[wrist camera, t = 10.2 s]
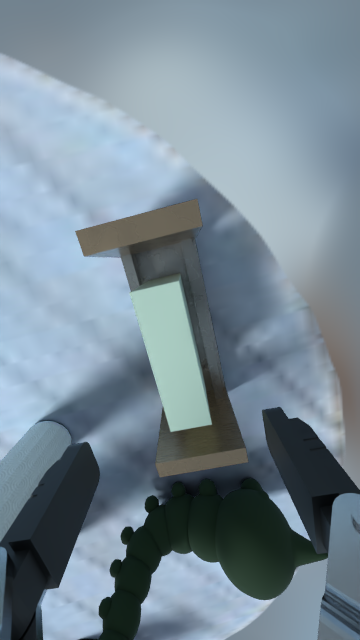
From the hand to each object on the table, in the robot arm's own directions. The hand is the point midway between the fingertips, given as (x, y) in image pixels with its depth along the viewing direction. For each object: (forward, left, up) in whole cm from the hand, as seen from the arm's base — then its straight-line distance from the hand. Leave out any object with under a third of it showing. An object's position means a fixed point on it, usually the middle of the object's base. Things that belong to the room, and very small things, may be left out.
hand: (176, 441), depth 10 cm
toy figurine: (-27, +2, -17) cm, 32 cm away
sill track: (0, 0, -17) cm, 17 cm away
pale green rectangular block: (0, 0, -16) cm, 16 cm away
